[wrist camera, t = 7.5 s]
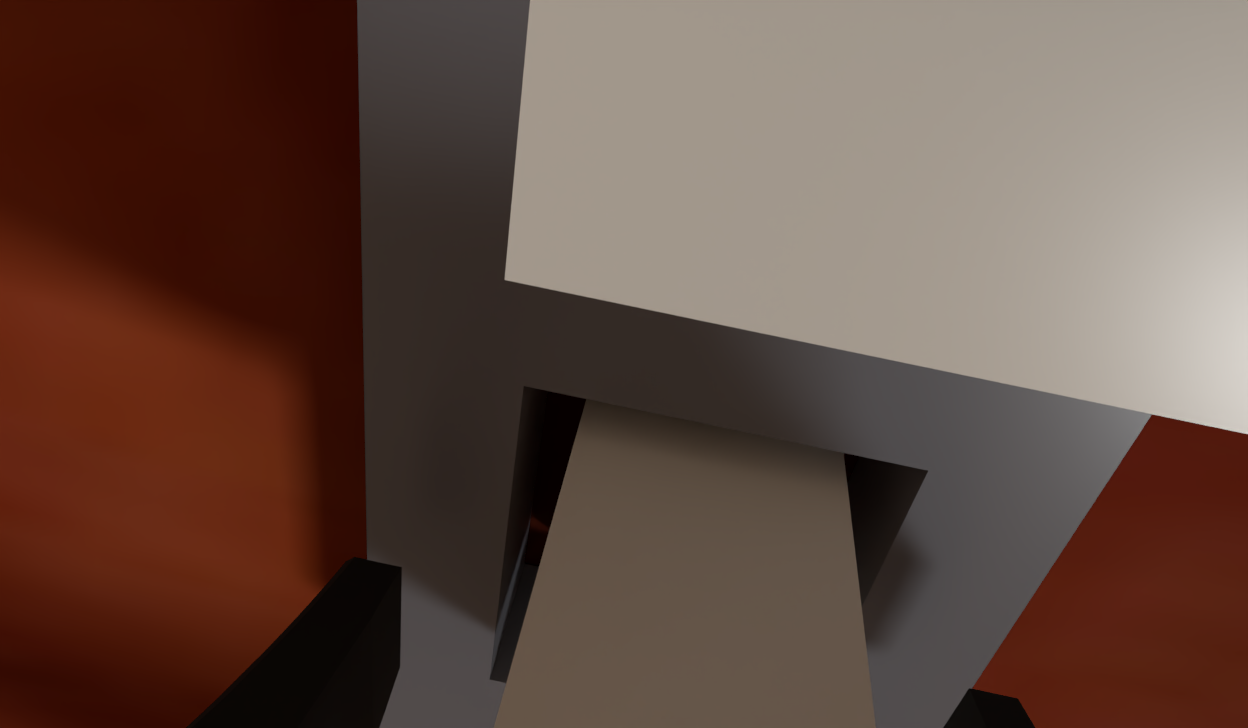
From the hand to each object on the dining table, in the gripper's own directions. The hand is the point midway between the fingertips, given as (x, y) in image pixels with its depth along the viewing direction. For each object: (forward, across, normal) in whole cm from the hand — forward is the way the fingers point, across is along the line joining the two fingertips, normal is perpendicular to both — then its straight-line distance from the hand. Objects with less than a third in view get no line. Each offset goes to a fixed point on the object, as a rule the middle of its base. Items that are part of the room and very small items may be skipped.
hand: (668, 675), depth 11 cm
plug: (+4, 0, 0) cm, 4 cm away
